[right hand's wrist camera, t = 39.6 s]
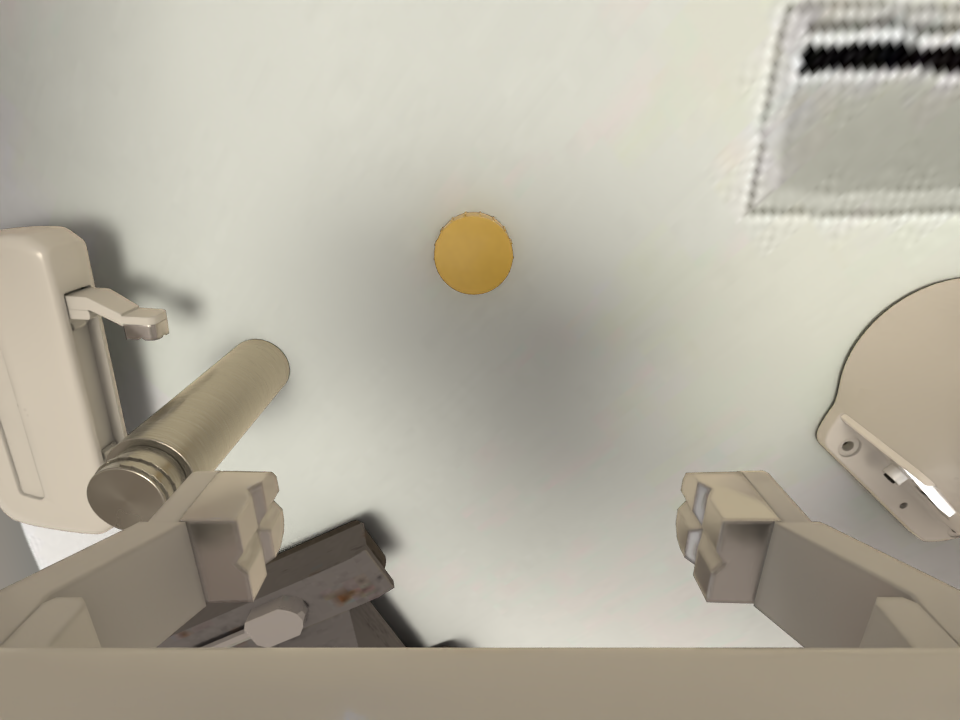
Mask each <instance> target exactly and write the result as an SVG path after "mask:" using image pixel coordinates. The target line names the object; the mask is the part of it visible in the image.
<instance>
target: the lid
mask: <svg viewBox="0 0 960 720" xmlns="http://www.w3.org/2000/svg"><path fill="white" fill-rule="evenodd" d="M440 232H441V233H440V235H439V237H438V240H436V242H435V251H434V260H435V264H436V268H437V271H438V273H439V275H440V276H441V278H442V279H443V280H444V281H445V283H446V284H448V285H449V286H450V287H451V288H453V289H455V290H457V291H459V292H461V293H465V294H473V295H475V294H483V293H486V292H489V291H491V290H493V289H495V288H496V287H498V286H499V285H500V284H501V283H502V282H503V281H504V280H505V278H506V277H507V275H508V273H509V272H510V269H511V266H512V260H513V258H514V257H513V250H512V245H511V244H512V241H511V239H509V236H508V234H507V232H506V229H505V226H502V225H501V223H500V222H498V221H497V220H496V219H495V217H494V216H493V217H491V216H489V215H487V214H484V213H481V212H468V213H467V212H465V213H464V214H461V215H458V216H456V217H452V219H451V220H450V221H449V222H448V223H447V224H446V225H445V227H442V229H441V231H440Z"/></svg>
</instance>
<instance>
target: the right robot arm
mask: <svg viewBox="0 0 960 720" xmlns="http://www.w3.org/2000/svg"><path fill="white" fill-rule="evenodd" d="M817 440H818V442H819V443H820V444H821V445H822V446H823V447H824V448H825V449H826V450H827V451H828V452H829V453H830V454H831V455H832V456H833V457H834V458H835V459H836V460H837V461H838V462H839V463H840V464H841V465H842V466H843V467H844V468H845V469H846V470H847V471H848V472H849V473H850V474H851V475H852V476H853V477H854V478H855V479H856V480H857V481H858V482H859V483H861V484H862V485H863V486H864V487H865V488H866V489H867V490H868V491H869V492H870V493H871V494H872V495H873V496H874V497H875V498H876V499H877V500H878V501H879V502H880V503H881V504H882V505H883V506H884V507H885V508H886V509H887V510H888V511H889V512H890V513H891V514H892V515H893V516H894V517H895V518H896V519H897V520H898V521H899V522H900V523H901V524H902V525H903V526H904V527H905V528H907V529H908V530H909V531H910V532H911V533H912V534H914V535H915V536H916V537H918V538H919V539H920V540H922V541H925V542H933V541H944V540H950V539H955V538H959V537H960V278H958V279H952V280H948V281H943V282H940V283H937V284H934V285H931V286H928V287H926V288H923V289H921V290H919V291H917V292H915V293H913V294H911V295H909V296H907V297H906V298H904V299H902V300H901V301H899V302H898V303H896V304H895V305H894V306H892V307H891V308H889V309H888V310H887V311H886V312H884V313H883V314H882V315H881V316H880V317H879V318H878V319H877V320H876V321H875V322H874V323H873V324H872V325H871V326H870V327H869V328H868V329H867V330H866V331H865V333H864V334H863V335H862V336H861V338H860V339H859V340H858V342H857V343H856V345H855V346H854V348H853V350H852V351H851V353H850V355H849V357H848V359H847V362H846V364H845V366H844V369H843V372H842V375H841V379H840V384H839V389H838V394H837V397H836V400H835V403H834V405H833V406H832V408H831V409H830V410H829V412H828V413H827V415H826V416H825V418H824V419H823V421H822V423H821V424H820V426H819V428H818V431H817ZM845 442H847V443H846V444H845V445H843V444H844V443H845ZM842 445H843V446H842ZM278 492H279V486H278V482H277V477H276V475H275V474H274V473H273V472H253V471H196V472H193V473H191V474H190V475H189V476H188V478H187V479H186V480H185V481H184V482H183V483H182V484H181V485H180V486H179V488H178V489H177V490H176V491H175V492H174V493H173V494H172V495H171V497H170V498H169V499H168V500H167V501H166V502H165V503H164V504H163V505H162V507H161V508H160V509H159V510H158V511H157V512H156V513H155V514H154V516H153V517H152V518H151V519H150V520H149V521H148V522H138V523H136V524H134V525H132V526H130V527H128V528H126V529H124V530H122V531H120V532H118V533H116V534H114V535H112V536H110V537H108V538H106V539H103V540H101V541H99V542H97V543H95V544H93V545H91V546H89V547H87V548H85V549H83V550H81V551H79V552H77V553H75V554H73V555H71V556H69V557H67V558H65V559H63V560H61V561H58V562H56V563H54V564H52V565H50V566H48V567H46V568H44V569H42V570H40V571H38V572H36V573H34V574H32V575H30V576H28V577H26V578H24V579H22V580H20V581H18V582H16V583H14V584H11V585H9V586H7V587H5V588H3V589H1V590H0V720H960V590H958V589H956V588H954V587H952V586H950V585H948V584H946V583H944V582H942V581H940V580H938V579H936V578H934V577H932V576H930V575H928V574H926V573H924V572H922V571H920V570H918V569H916V568H914V567H911V566H909V565H907V564H905V563H903V562H901V561H899V560H897V559H895V558H893V557H891V556H889V555H887V554H885V553H883V552H881V551H879V550H877V549H875V548H873V547H871V546H869V545H867V544H865V543H863V542H860V541H858V540H856V539H854V538H852V537H850V536H848V535H846V534H844V533H842V532H840V531H838V530H836V529H834V528H832V527H830V526H828V525H826V524H824V523H822V522H812V521H811V520H810V519H809V518H808V517H807V516H806V514H805V513H804V512H803V511H802V510H801V509H800V508H799V507H798V505H797V504H796V503H795V502H794V501H793V500H792V499H791V498H790V497H789V495H788V494H787V493H786V492H785V491H784V490H783V489H782V488H781V486H780V485H779V484H778V483H777V482H776V481H775V480H774V479H773V478H772V476H771V475H770V474H769V473H767V472H765V471H763V470H759V471H737V472H694V473H686V474H685V476H684V478H683V480H682V486H681V492H682V494H683V495H684V497H685V499H686V501H685V502H684V503H683V504H682V505H681V506H680V507H679V508H678V509H677V517H676V533H677V540H678V543H679V547H680V549H681V551H682V553H683V556H684V557H685V558H686V559H687V560H689V561H690V562H692V563H693V564H695V567H694V572H693V576H694V578H695V580H696V582H697V584H698V586H699V588H700V589H701V591H702V593H703V595H704V597H705V599H706V601H707V602H719V603H754V606H755V607H756V608H757V609H758V610H759V611H761V612H762V613H763V614H764V615H766V616H767V617H768V618H769V619H770V620H772V621H773V622H774V623H775V624H776V625H778V626H779V627H780V628H781V629H782V630H784V631H785V632H786V633H787V634H788V635H790V636H791V637H792V638H793V639H794V640H796V641H797V642H798V643H799V644H800V645H802V646H803V647H804V648H156V647H157V646H158V645H160V644H161V643H162V642H163V641H164V640H166V639H167V638H168V637H169V636H171V635H172V634H173V633H174V632H175V631H177V630H178V629H179V628H180V627H181V626H183V625H184V624H185V623H186V622H187V621H189V620H190V619H191V618H192V617H194V616H195V615H196V614H197V613H198V612H200V611H201V610H202V609H203V608H204V607H206V603H240V602H253V601H254V599H255V597H256V595H257V593H258V592H259V590H260V588H261V586H262V584H263V582H264V580H265V578H266V576H267V572H266V567H265V564H267V563H268V562H270V561H271V560H273V559H274V558H275V557H276V555H277V553H278V551H279V549H280V547H281V543H282V538H283V534H284V516H283V509H282V508H281V507H280V506H279V505H278V504H277V503H276V502H275V501H274V499H275V497H276V495H277V494H278Z"/></svg>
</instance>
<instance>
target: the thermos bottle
mask: <svg viewBox="0 0 960 720" xmlns="http://www.w3.org/2000/svg"><path fill="white" fill-rule="evenodd" d="M288 377H289V364H288V361H287V359H286V357H285V355H284V354H283V352H282V351H281V350H280V349H279V348H277V347H276V346H275V345H273V344H271V343H269V342H267V341H264V340H258V339H252V340H247V341H244V342H242V343H240V344H239V345H237V346H236V347H235V348H234V349H233V350H231V351H230V352H229V353H228V354H226V355H225V356H224V357H223V358H222V359H220V360H219V361H218V362H217V363H215V364H214V365H213V366H212V367H211V368H209V369H208V370H207V371H206V372H204V373H203V374H202V375H201V376H200V377H198V378H197V379H196V380H195V381H193V382H192V383H191V384H190V385H189V386H187V387H186V388H185V389H184V390H182V391H181V392H180V393H179V394H178V395H176V396H175V397H174V398H173V399H171V400H170V401H169V402H168V403H167V404H165V405H164V406H163V407H162V408H161V409H159V410H158V411H157V412H156V413H154V414H153V415H152V416H151V417H150V418H148V419H147V420H146V421H145V422H143V423H142V424H141V425H140V426H139V427H137V428H136V429H135V430H134V431H132V432H131V433H130V434H129V435H128V436H126V437H125V438H124V439H123V440H121V441H120V442H119V443H118V444H117V445H115V446H114V447H113V448H112V449H111V451H110V452H109V454H108V456H107V459H106V462H105V463H104V464H103V465H101V466H100V467H99V468H98V470H97V471H96V473H95V474H94V476H93V477H92V478H91V479H90V481H89V483H88V486H87V499H88V502H89V504H90V506H91V508H92V510H93V511H94V512H95V513H96V515H97V516H98V517H99V518H101V519H102V520H103V521H104V522H106V523H107V524H109V525H111V526H113V527H115V528H118V529H121V530H124V529H126V528H128V527H130V526H132V525H134V524H136V523H138V522H148V521H149V520H150V519H151V518H152V517H153V516H154V514H155V513H156V512H157V511H158V510H159V509H160V508H161V507H162V505H163V504H164V503H165V502H166V501H167V500H168V499H169V498H170V497H171V495H172V494H173V493H174V492H175V491H176V490H177V489H178V488H179V486H180V485H181V484H182V483H183V482H184V481H185V480H186V479H187V478H188V476H189V475H190V474H191V473H193V472H196V471H214V470H215V469H216V468H217V467H218V465H219V464H220V463H221V462H222V461H223V459H224V458H225V457H226V456H227V455H228V453H229V452H230V451H231V450H232V448H233V447H234V446H235V445H236V444H237V442H238V441H239V440H240V439H241V437H242V436H243V435H244V434H245V433H246V431H247V430H248V429H249V428H250V427H251V425H252V424H253V423H254V422H255V420H256V419H257V418H258V417H259V416H260V414H261V413H262V412H263V411H264V409H265V408H266V407H267V406H268V405H269V403H270V402H271V401H272V400H273V398H274V397H275V396H276V395H277V394H278V392H279V391H280V390H281V389H282V388H283V386H284V385H285V384H286V382H287V380H288Z"/></svg>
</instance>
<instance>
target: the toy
mask: <svg viewBox="0 0 960 720" xmlns="http://www.w3.org/2000/svg"><path fill="white" fill-rule="evenodd" d="M385 565H386V558H385V555H384V554H383V552H382V551H381V550H380V548H379V547H378V545H377V544H376V543H375V541H374V540H373V539H372V537H371V536H370V535H369V533H368V532H367V531H366V529H365V528H364V523H360V521H356V520H355V521H352V522H349V523H347V524H345V525H343V526H340V527H338V528H336V529H334V530H331V531H329V532H327V533H325V534H322V535H320V536H318V537H316V538H314V539H311V540H309V541H307V542H305V543H302V544H300V545H298V546H296V547H293V548H291V549H289V550H287V551H284V552H282V553H280V554H278V555H276V557H275V558H274V559H273V560H271V561H270V562H268V563H267V564H265V567H266V572H267V576H266V578H265V580H264V582H263V584H262V586H261V588H260V590H259V592H258V593H257V595H256V597H255V599H254V601H253V602H240V603H206V607H204V608H203V609H202V610H201V611H200V612H198V613H197V614H196V615H195V616H194V617H192V618H191V619H190V620H189V621H187V622H186V623H185V624H184V625H183V626H181V627H180V628H179V629H178V630H177V631H175V632H174V633H173V634H172V635H171V636H169V637H168V638H167V639H166V640H164V641H163V642H162V643H161V644H160V645H158V646H157V647H156V648H406V647H405V645H404V644H403V643H402V642H401V640H400V639H399V638H398V637H397V635H396V634H395V633H394V631H393V630H392V629H391V628H390V626H389V625H388V624H387V623H386V621H385V620H384V619H383V617H382V616H381V615H380V614H379V612H378V611H377V610H376V608H375V607H374V606H373V605H372V603H371V602H370V601H371V600H374V599H376V598H378V597H380V596H382V595H383V594H385V593H386V592H388V591H390V590H391V589H393V588H394V582H393V579H392V578H391V577H390V575H389V574H388V573H387V571H386V570H385ZM440 648H451V647H448V646H442V647H440Z"/></svg>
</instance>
